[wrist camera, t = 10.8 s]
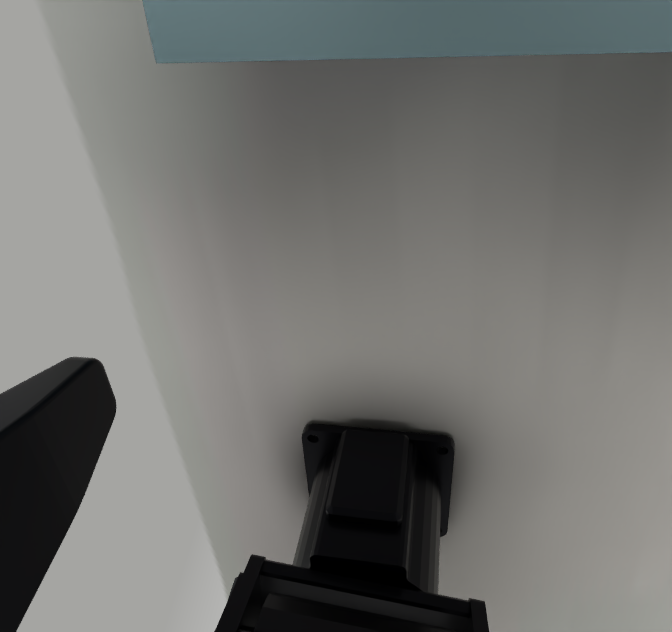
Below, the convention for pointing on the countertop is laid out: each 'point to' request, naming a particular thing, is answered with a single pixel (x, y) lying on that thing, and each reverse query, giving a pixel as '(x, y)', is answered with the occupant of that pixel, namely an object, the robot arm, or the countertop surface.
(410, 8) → the hole block
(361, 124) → the countertop surface
